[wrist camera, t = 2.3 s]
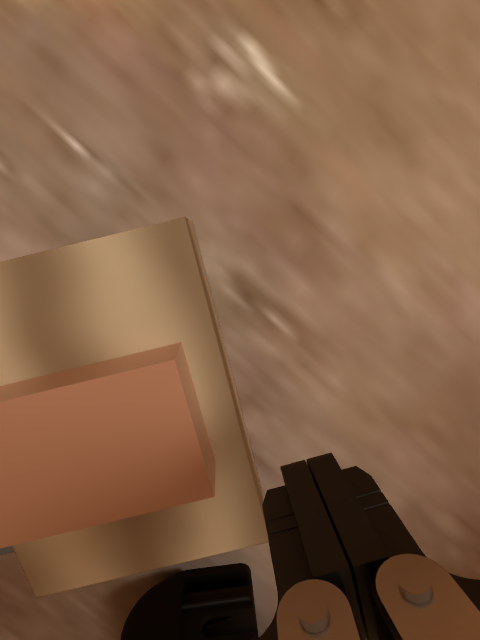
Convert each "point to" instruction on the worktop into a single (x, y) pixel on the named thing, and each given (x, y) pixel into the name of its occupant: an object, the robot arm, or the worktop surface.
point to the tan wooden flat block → (120, 340)
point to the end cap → (197, 607)
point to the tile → (101, 445)
